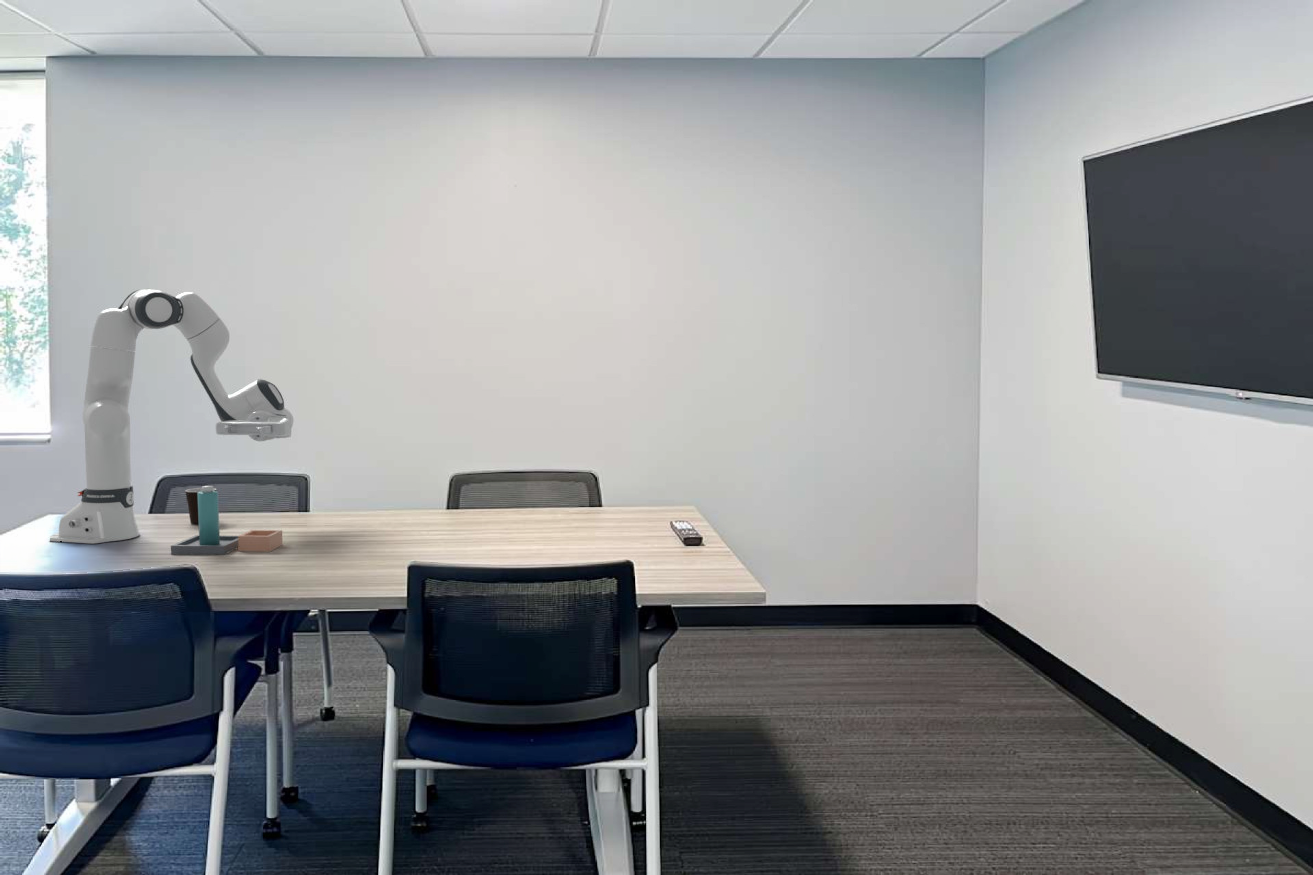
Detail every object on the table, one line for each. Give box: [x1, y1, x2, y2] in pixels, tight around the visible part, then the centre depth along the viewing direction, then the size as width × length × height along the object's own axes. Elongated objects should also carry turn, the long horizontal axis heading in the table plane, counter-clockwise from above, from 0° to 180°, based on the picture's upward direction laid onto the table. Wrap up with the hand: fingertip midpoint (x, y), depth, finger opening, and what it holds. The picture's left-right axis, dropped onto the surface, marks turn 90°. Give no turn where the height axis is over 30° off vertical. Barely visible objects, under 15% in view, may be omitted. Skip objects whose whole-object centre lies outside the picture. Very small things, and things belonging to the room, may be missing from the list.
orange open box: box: [237, 529, 283, 552], centre depth 284 cm, size 8×8×4 cm
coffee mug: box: [184, 487, 217, 526], centre depth 320 cm, size 12×9×10 cm
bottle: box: [198, 485, 221, 545], centre depth 281 cm, size 5×5×16 cm
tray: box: [170, 534, 239, 555], centre depth 282 cm, size 14×14×2 cm
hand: (242, 430), depth 297 cm, fingers open, 8 cm apart
